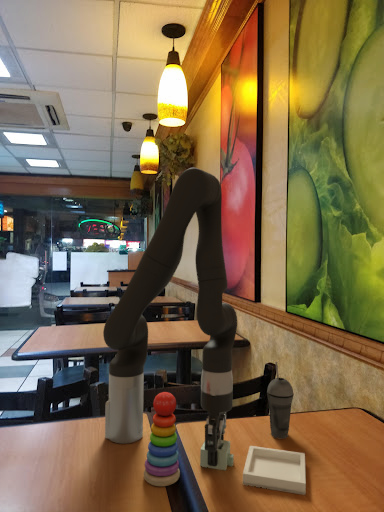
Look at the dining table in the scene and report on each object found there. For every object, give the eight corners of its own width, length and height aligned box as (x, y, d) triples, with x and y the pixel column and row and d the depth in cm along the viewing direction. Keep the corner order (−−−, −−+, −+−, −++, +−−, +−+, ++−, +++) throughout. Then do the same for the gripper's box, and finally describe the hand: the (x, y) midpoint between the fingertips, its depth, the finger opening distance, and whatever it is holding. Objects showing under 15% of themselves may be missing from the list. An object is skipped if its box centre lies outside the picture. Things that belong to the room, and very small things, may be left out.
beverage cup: (293, 442, 105) (295, 366, 105) (265, 439, 107) (267, 365, 106) (292, 430, 112) (293, 359, 112) (266, 427, 114) (267, 358, 114)
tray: (242, 484, 86) (242, 473, 86) (249, 455, 98) (249, 445, 98) (305, 495, 82) (305, 483, 82) (304, 463, 95) (304, 453, 95)
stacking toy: (165, 492, 82) (167, 402, 82) (136, 480, 86) (137, 394, 86) (186, 475, 89) (188, 391, 89) (158, 464, 93) (159, 384, 93)
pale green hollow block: (200, 466, 93) (200, 449, 93) (206, 453, 98) (206, 437, 98) (230, 471, 91) (231, 453, 91) (234, 458, 97) (235, 441, 97)
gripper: (208, 377, 103) (207, 441, 103) (193, 396, 89) (192, 470, 89) (237, 380, 101) (236, 445, 101) (227, 400, 87) (225, 476, 87)
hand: (215, 457), depth 95 cm, fingers open, 7 cm apart
